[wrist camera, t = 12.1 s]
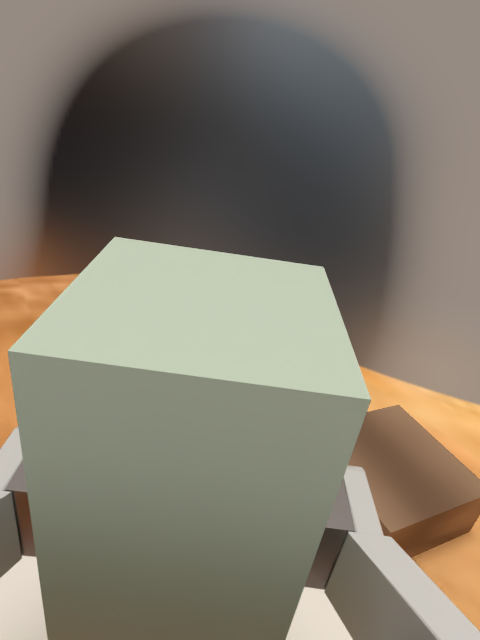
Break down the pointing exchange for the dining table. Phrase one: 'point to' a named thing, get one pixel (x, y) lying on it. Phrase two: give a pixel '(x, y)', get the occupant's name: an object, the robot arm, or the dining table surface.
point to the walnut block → (414, 481)
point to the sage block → (183, 442)
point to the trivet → (30, 629)
